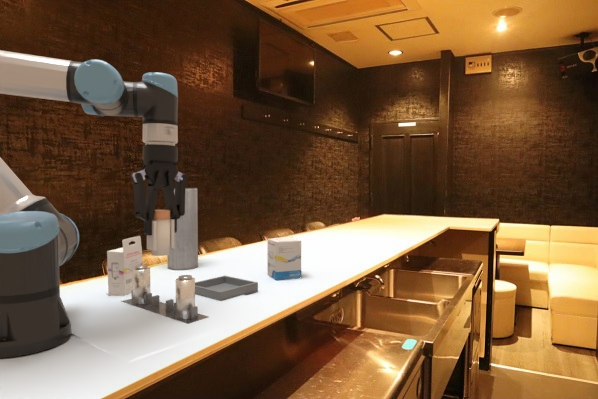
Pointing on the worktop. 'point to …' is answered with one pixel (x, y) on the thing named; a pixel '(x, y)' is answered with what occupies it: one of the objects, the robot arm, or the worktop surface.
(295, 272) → the ink box
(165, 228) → the cylinder
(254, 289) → the tray
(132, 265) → the ink cartridge box
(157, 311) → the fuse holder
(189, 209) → the vase
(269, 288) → the worktop surface
